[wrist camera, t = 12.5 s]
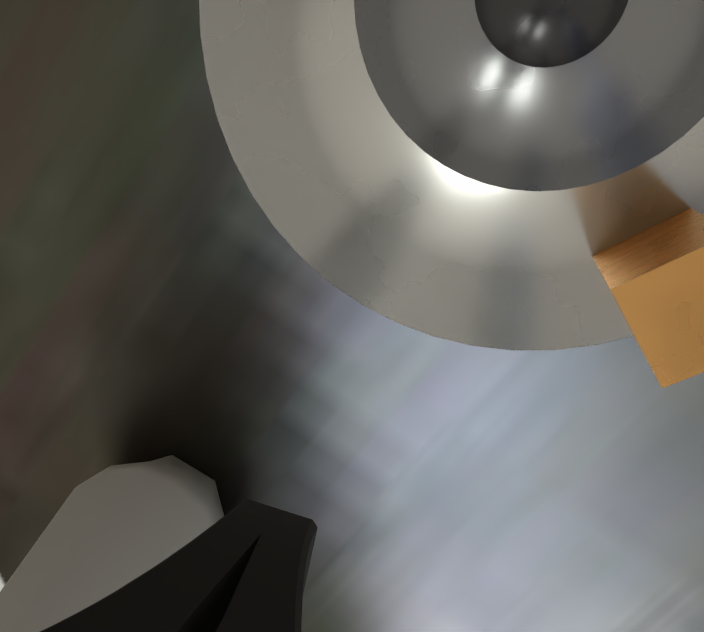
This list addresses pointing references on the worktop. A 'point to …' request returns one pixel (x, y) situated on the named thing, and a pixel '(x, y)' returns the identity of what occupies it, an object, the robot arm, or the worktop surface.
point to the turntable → (450, 205)
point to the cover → (537, 83)
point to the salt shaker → (108, 539)
